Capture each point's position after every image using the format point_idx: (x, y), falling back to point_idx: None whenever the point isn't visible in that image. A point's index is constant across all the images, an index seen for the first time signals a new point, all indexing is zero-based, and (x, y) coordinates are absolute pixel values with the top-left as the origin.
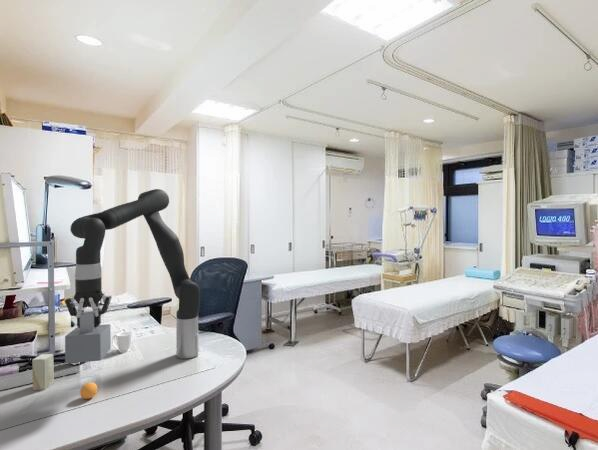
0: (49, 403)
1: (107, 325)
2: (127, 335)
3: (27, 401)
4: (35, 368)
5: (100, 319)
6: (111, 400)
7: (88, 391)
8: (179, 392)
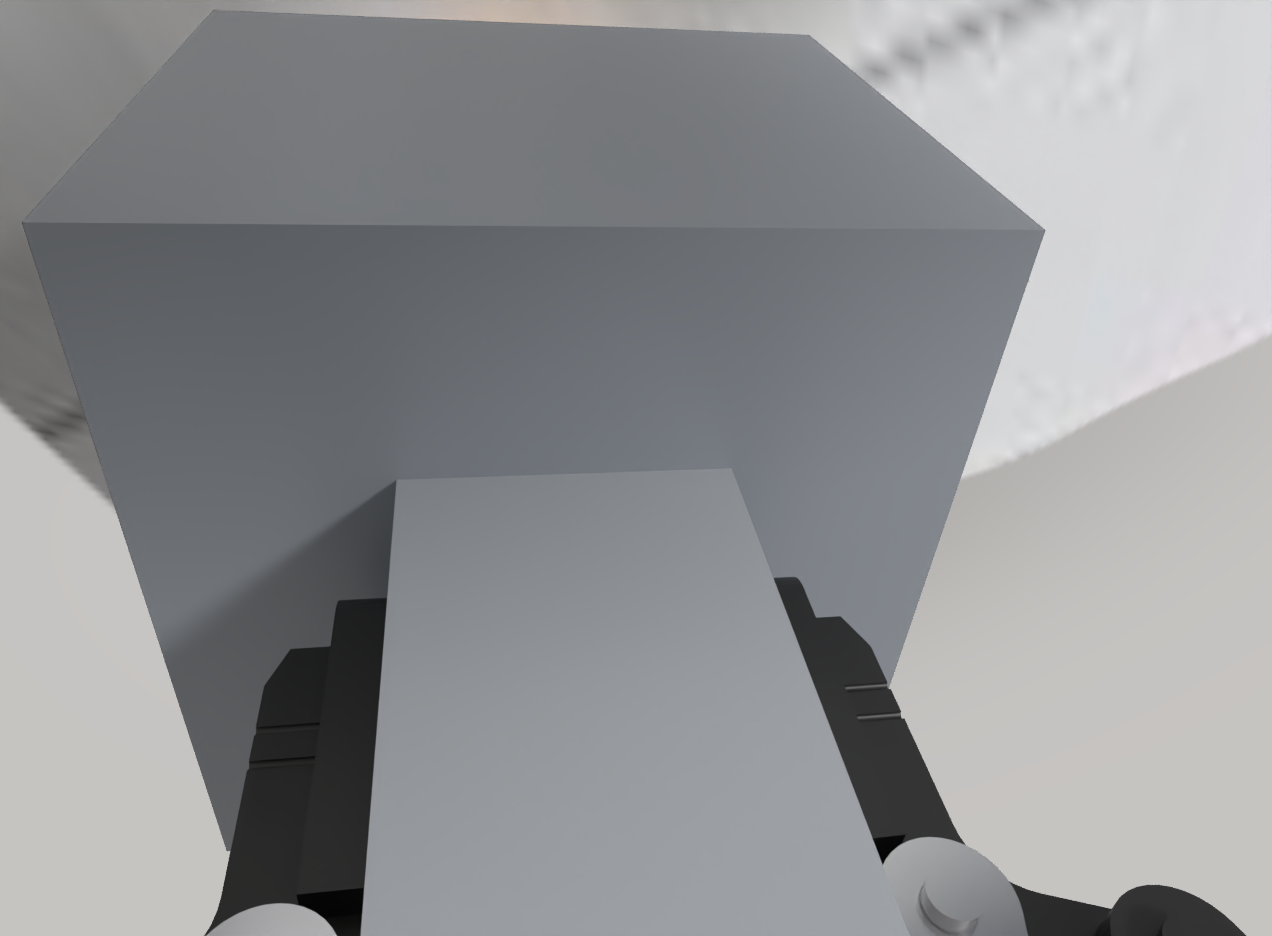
0: (123, 108)
1: (964, 329)
2: None
3: None
4: None
5: (904, 742)
6: None
7: None
8: (1255, 194)
